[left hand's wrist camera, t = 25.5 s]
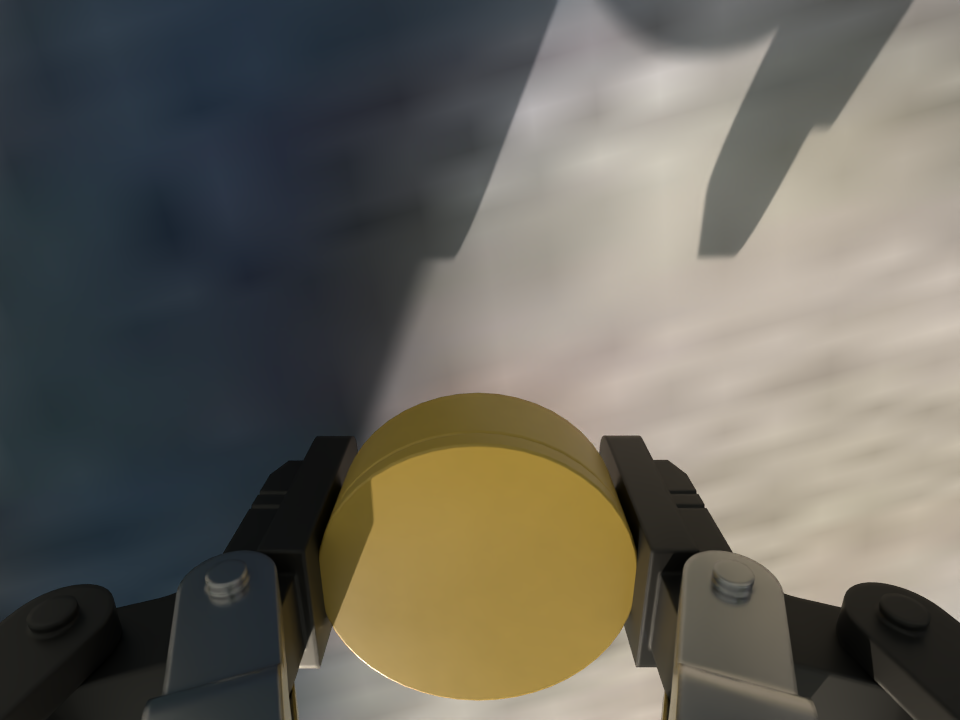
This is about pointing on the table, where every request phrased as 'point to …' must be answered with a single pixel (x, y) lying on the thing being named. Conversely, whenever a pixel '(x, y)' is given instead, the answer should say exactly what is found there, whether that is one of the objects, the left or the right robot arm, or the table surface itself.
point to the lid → (478, 550)
